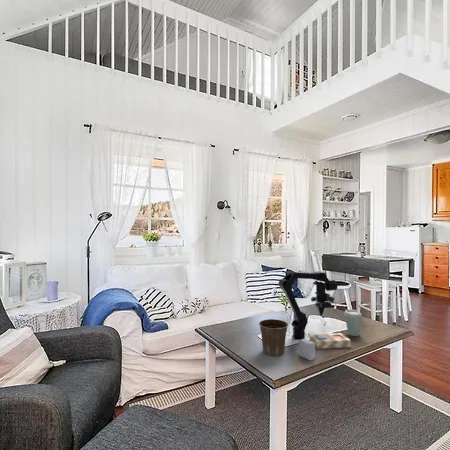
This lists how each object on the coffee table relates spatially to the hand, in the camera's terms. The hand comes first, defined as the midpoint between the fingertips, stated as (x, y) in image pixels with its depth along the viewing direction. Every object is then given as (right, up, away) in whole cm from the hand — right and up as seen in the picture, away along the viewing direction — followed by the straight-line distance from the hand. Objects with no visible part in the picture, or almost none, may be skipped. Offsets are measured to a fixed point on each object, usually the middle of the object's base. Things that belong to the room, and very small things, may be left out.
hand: (321, 315), depth 197 cm
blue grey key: (-4, -11, -15) cm, 19 cm away
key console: (+1, -13, -14) cm, 19 cm away
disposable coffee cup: (+21, -13, +1) cm, 25 cm away
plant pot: (-35, -14, -25) cm, 45 cm away
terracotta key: (+6, -12, -14) cm, 19 cm away
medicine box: (-18, -13, -32) cm, 39 cm away
